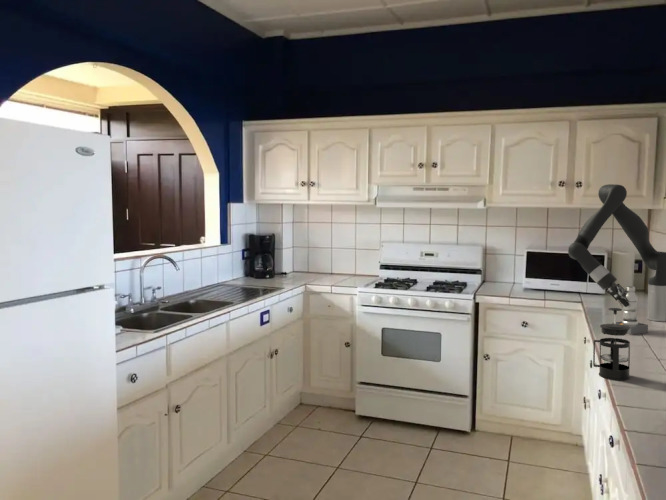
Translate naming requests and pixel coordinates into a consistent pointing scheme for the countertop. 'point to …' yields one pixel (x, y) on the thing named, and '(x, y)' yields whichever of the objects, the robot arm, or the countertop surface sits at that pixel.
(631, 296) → the silver metal bottle
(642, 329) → the socket collar
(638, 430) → the countertop surface
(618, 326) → the french press
